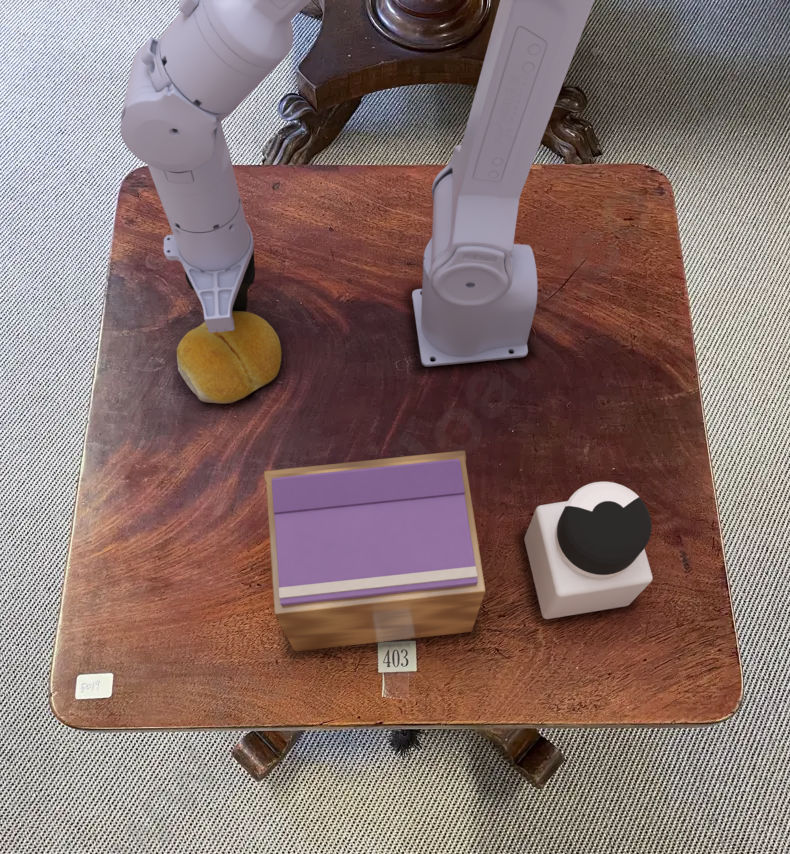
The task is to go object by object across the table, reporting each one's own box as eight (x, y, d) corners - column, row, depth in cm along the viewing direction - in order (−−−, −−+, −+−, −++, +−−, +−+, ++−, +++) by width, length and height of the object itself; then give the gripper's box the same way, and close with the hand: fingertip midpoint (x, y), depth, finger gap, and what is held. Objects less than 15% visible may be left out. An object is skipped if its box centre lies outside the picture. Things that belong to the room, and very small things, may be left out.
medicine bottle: (630, 606, 68) (675, 559, 57) (542, 620, 68) (570, 576, 56) (607, 523, 71) (646, 462, 59) (522, 536, 70) (546, 478, 59)
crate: (455, 509, 71) (465, 449, 60) (473, 631, 67) (487, 591, 57) (284, 527, 71) (263, 470, 60) (292, 651, 67) (272, 614, 56)
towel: (458, 462, 60) (459, 456, 59) (477, 584, 57) (478, 580, 56) (273, 481, 60) (271, 476, 59) (281, 606, 56) (279, 602, 56)
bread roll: (300, 368, 76) (295, 343, 72) (214, 422, 74) (204, 400, 70) (248, 305, 79) (241, 278, 75) (164, 356, 77) (152, 331, 73)
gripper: (148, 132, 67) (188, 246, 79) (148, 288, 61) (191, 383, 74) (239, 124, 67) (264, 239, 79) (247, 278, 62) (273, 375, 74)
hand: (234, 308), depth 77 cm, fingers closed
